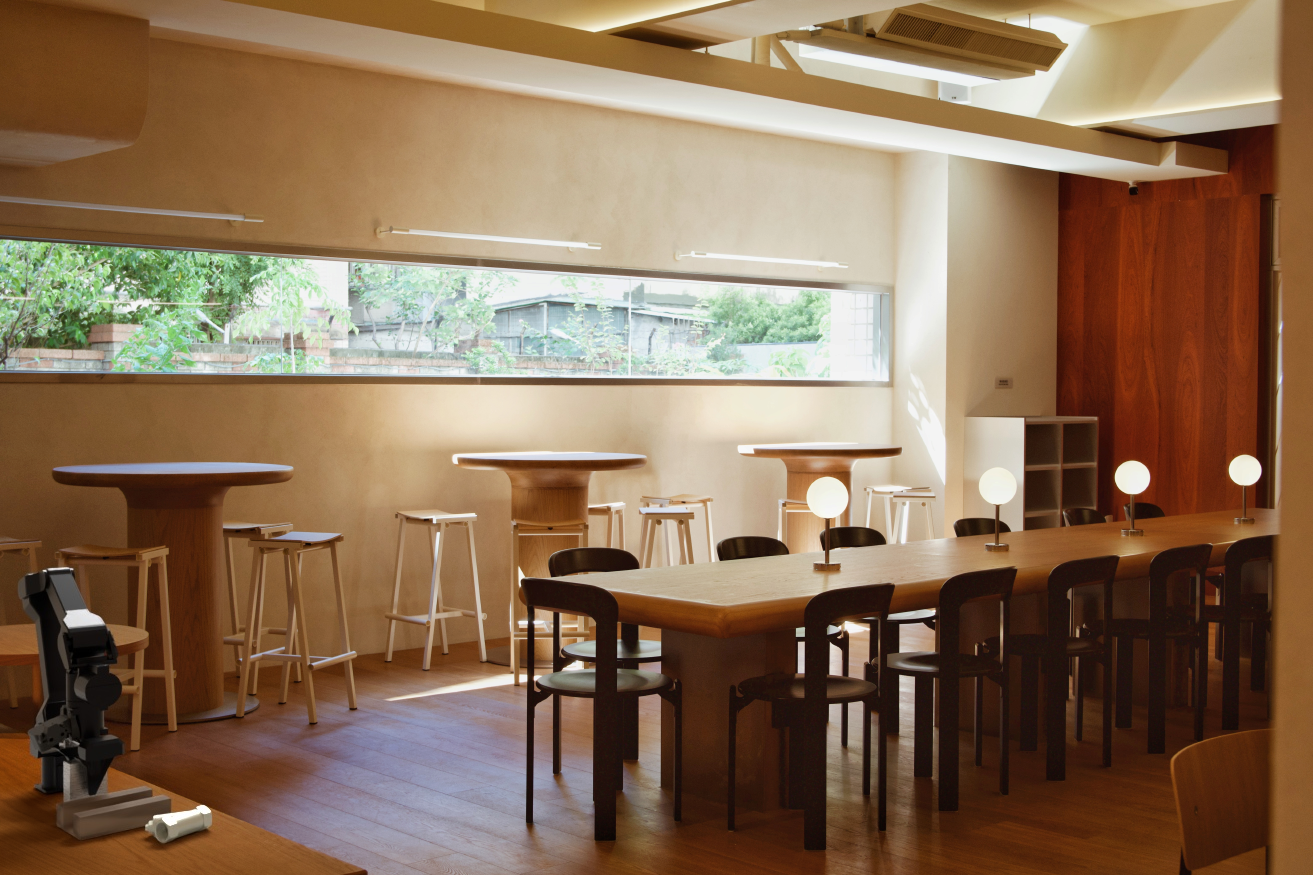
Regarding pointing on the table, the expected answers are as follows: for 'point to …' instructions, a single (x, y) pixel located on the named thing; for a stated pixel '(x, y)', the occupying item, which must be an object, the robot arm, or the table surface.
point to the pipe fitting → (179, 823)
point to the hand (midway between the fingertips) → (85, 791)
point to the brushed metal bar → (78, 781)
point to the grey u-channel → (111, 812)
